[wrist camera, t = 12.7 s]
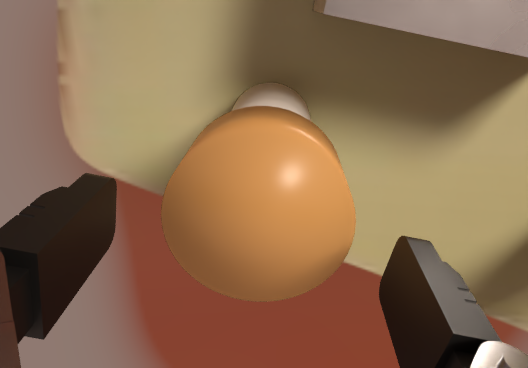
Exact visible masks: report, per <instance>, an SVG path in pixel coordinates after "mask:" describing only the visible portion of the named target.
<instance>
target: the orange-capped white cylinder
mask: <svg viewBox="0 0 528 368" xmlns="http://www.w3.org/2000/svg"><path fill="white" fill-rule="evenodd" d="M161 221H162V228H163V232H164V236H165V239H166V242H167V244H168V246H169V249H170V251H171V252H172V254H173V256H174V257H175V259H176V260H177V261H178V263H179V264H180V265H181V266H182V268H183V269H184V270H185V271H186V272H188V274H189V275H190V276H192V277H193V278H194V279H196V280H197V281H198V282H200V283H201V284H203V285H204V286H206V287H208V288H209V289H211V290H213V291H216V292H218V293H220V294H223V295H226V296H229V297H232V298H236V299H240V300H247V301H260V302H267V301H278V300H283V299H288V298H291V297H295V296H298V295H301V294H303V293H305V292H308V291H310V290H311V289H313V288H315V287H317V286H318V285H320V284H321V283H323V282H324V281H325V280H327V279H328V278H329V277H330V276H331V275H332V274H333V273H334V272H335V271H336V270H337V269H338V267H339V266H340V265H341V264H342V262H343V261H344V259H345V257H346V256H347V254H348V252H349V249H350V247H351V245H352V241H353V237H354V234H355V224H356V218H355V208H354V203H353V199H352V196H351V193H350V190H349V187H348V184H347V181H346V178H345V175H344V172H343V169H342V166H341V163H340V160H339V158H338V155H337V152H336V150H335V148H334V146H333V145H332V143H331V141H330V140H329V139H328V137H327V136H326V135H325V134H324V133H323V132H322V130H321V129H320V128H319V127H318V126H316V125H315V124H314V123H312V122H311V119H310V114H309V110H308V107H307V105H306V103H305V101H304V100H303V99H302V97H301V96H300V95H299V94H298V93H297V92H296V91H294V90H293V89H291V88H290V87H288V86H285V85H283V84H279V83H261V84H258V85H255V86H253V87H251V88H249V89H247V90H246V91H245V92H244V93H243V94H242V95H241V96H240V97H239V98H238V99H237V101H236V103H235V105H234V107H233V109H232V111H231V112H229V113H226V114H224V115H222V116H221V117H219V118H217V119H215V120H214V121H213V122H212V123H210V124H209V125H208V126H207V127H206V128H205V129H204V130H203V131H202V132H201V133H200V134H199V136H198V137H197V138H196V140H195V141H194V143H193V144H192V146H191V147H190V149H189V150H188V152H187V153H186V155H185V156H184V158H183V159H182V161H181V163H180V164H179V166H178V167H177V169H176V170H175V172H174V173H173V175H172V177H171V178H170V180H169V182H168V184H167V187H166V190H165V193H164V196H163V201H162V207H161Z"/></svg>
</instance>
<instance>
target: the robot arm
mask: <svg viewBox="0 0 528 368" xmlns="http://www.w3.org/2000/svg"><path fill="white" fill-rule="evenodd" d="M116 187H117V186H116V181H115V179H114V178H109V177H104V176H99V175H94V174H89V173H85V174H84V175H82V176H81V177H80V178H79V179H77V181H75V182H74V183H73V184H72V185H71V186H70V187H68V188H67V187H59V188H57V189H54V190H52V191H49V192H46V193H44V194H42V195H41V196H40V197H39V198H37V199H36V200H35V201H34V202H32V203H31V204H30V207H29V206H27V207H26V208H25V209H24V210H22V211H21V212H20V213H19V215H16V216H15V217H14V218H12V219H11V220H10V221H9V222H7V223H6V224H5V225H4V226H3V227H1V228H0V368H21V365H20V357H19V350H18V343H19V342H20V341H21V340H22V338H23V337H24V336H27V337H32V338H38V339H44V338H45V337H46V335H47V334H48V333H49V331H50V330H51V328H52V327H53V326H54V324H55V323H56V322H57V320H58V319H59V317H60V316H61V315H62V313H63V312H64V310H65V309H66V308H67V306H68V305H69V303H70V302H71V301H72V299H73V298H74V296H75V295H76V294H77V292H78V291H79V289H80V288H81V287H82V285H83V284H84V282H85V281H86V280H87V278H88V277H89V275H90V274H91V273H92V271H93V270H94V268H95V267H96V265H97V264H98V263H99V261H100V260H101V259H102V257H103V256H104V254H105V253H106V252H107V250H108V249H109V247H110V245H111V243H112V240H113V237H114V233H115V223H116V220H115V219H116V190H117V189H116ZM379 298H380V303H381V306H382V310H383V313H384V316H385V319H386V323H387V326H388V330H389V333H390V336H391V340H392V343H393V346H394V349H395V353H396V356H397V359H398V363H399V366H400V368H528V355H527V354H525V353H523V352H522V351H520V350H519V349H517V348H515V347H513V346H510V345H508V344H505V343H502V341H501V340H500V338H499V336H498V335H497V333H496V332H495V330H494V328H493V327H492V325H491V324H490V322H489V320H488V319H487V317H486V315H485V314H484V312H483V311H482V309H481V307H480V306H479V304H476V302H477V301H476V299H475V298H474V296H473V295H472V293H471V292H469V288H468V286H467V285H466V283H465V282H464V280H463V278H462V277H461V275H460V274H459V273H457V272H456V271H455V270H454V269H453V268H452V267H451V266H450V265H449V264H448V263H446V262H443V261H442V260H441V258H440V257H439V255H438V253H437V252H436V250H435V248H434V246H433V245H432V243H431V242H430V241H427V240H422V239H417V238H412V237H407V236H401V237H400V238H399V239H398V240H397V242H396V244H395V247H394V249H393V252H392V254H391V257H390V259H389V262H388V264H387V266H386V269H385V271H384V274H383V276H382V279H381V282H380V288H379Z"/></svg>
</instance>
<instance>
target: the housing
mask: <svg viewBox="0 0 528 368" xmlns="http://www.w3.org/2000/svg"><path fill="white" fill-rule="evenodd" d="M313 11H316V12H319V13H322V14H326V15H331V16H336V17H340V18H345V19H350V20H354V21H359V22H364V23H369V24H373V25H378V26H383V27H387V28H392V29H397V30H402V31H406V32H411V33H416V34H420V35H425V36H430V37H435V38H439V39H444V40H449V41H453V42H458V43H463V44H468V45H472V46H477V47H482V48H486V49H491V50H496V51H501V52H505V53H510V54H515V55H519V56H524V57H528V0H315V3H314V7H313Z"/></svg>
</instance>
